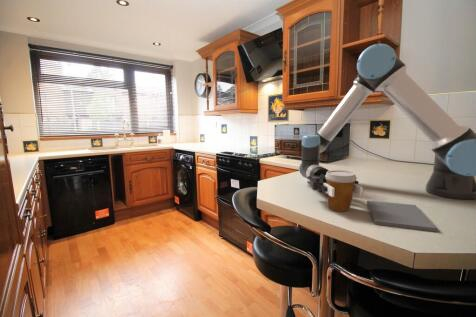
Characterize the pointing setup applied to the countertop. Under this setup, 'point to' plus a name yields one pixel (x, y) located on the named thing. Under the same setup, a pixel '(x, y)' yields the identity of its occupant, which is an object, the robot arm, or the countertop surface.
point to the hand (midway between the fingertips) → (347, 192)
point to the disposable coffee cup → (341, 189)
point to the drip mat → (399, 216)
